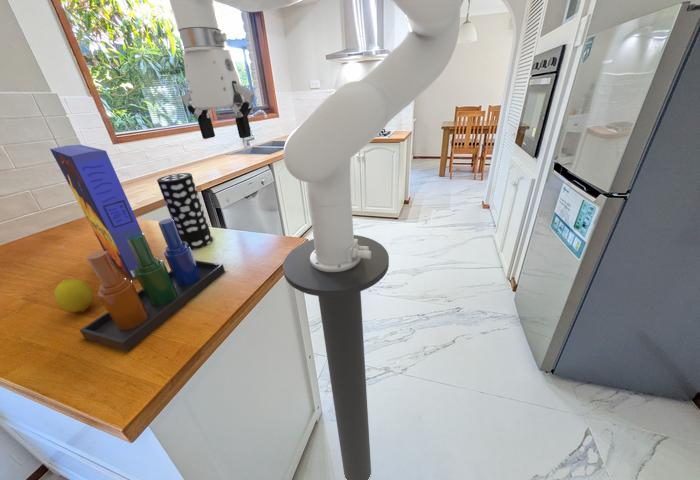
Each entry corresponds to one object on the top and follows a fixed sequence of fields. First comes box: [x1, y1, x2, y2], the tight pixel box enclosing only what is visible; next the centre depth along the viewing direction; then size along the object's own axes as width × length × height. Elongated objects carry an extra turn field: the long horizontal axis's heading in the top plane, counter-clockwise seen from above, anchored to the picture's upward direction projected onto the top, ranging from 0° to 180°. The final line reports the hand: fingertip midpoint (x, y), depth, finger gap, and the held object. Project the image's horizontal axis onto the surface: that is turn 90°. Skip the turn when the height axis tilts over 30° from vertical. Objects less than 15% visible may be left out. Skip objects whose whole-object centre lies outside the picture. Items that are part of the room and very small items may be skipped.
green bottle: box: [127, 232, 177, 306], centre depth 59 cm, size 5×5×15 cm
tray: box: [79, 259, 226, 353], centre depth 62 cm, size 11×25×2 cm, turn 161°
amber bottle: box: [86, 250, 149, 331], centre depth 53 cm, size 5×5×15 cm
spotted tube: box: [156, 172, 213, 250], centre depth 82 cm, size 8×8×20 cm
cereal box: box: [49, 144, 143, 280], centre depth 72 cm, size 22×6×30 cm, turn 51°
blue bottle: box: [157, 218, 201, 286], centre depth 64 cm, size 5×5×15 cm
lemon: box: [53, 278, 95, 313], centre depth 59 cm, size 6×6×8 cm
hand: (227, 137), depth 63 cm, fingers open, 9 cm apart
